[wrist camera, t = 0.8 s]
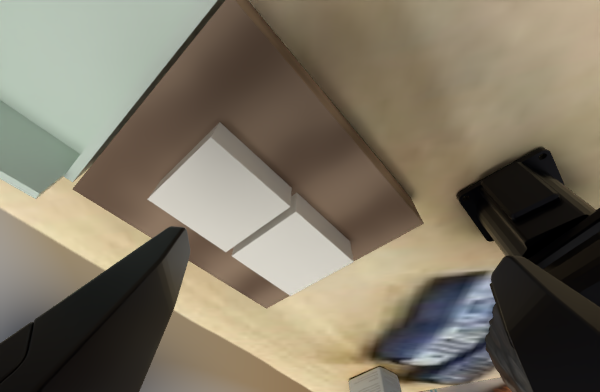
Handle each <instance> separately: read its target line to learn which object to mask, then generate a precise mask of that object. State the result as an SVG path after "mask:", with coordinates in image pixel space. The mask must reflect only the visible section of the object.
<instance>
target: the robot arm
mask: <svg viewBox="0 0 600 392" xmlns="http://www.w3.org/2000/svg"><path fill="white" fill-rule="evenodd" d="M541 154H542V155H541ZM540 155H541V156H540ZM539 156H540V157H539ZM464 196H466V197H465V198H463V197H464ZM457 199H458V200H459V202H460V203H461V205H462V206H463V208H464V209H465V210H466V212H467V213H468V215H469V216H470V217H471V219H472V220H473V222H474V223H475V224H476V226H477V227H478V229H479V230H480V231H481V233H482V234H483V236H484V237H485V239H486V240H487V241H490V242H491V241H495V242H496V244H497V245H498V246H499V248H500V249H501V250H502V252H503V253H504V254H505V257H504V258H503V259H502V261H501V262H500V263H499V265H498V266H497V267H496V269H495V270H494V272H493V273H492V276H491V281H492V283H491V284H490V287H491V290H492V293H493V296H494V299H495V302H496V305H497V308H498V311H499V314H500V317H501V320H502V323H503V326H504V329H505V332H506V334H507V336H508V339H509V342H510V345H511V346H512V347H513V348H514V349H515V351H516V354H517V356H518V358H519V361H520V363H521V365H522V368H523V370H524V372H525V375H526V377H527V379H528V382H529V384H530V386H531V389H532V391H533V392H600V208H599V209H597V210H595V209H594V208H593V207H592V206H590V205H589V204H588V203H586V202H585V201H584V200H582V199H581V198H580V197H579V196H577V195H576V194H575V193H573V192H572V191H571V190H570V189H568V188H567V187H566V186H565V185H564V183H563V180H562V178H561V176H560V173H559V171H558V169H557V166H556V164H555V162H554V159H553V157H552V155H551V152H550V151H549V150H547V149H546V148H538V149H536V150H534V151H533V152H531V153H529V154H527V155H525V156H524V157H522V158H520V159H518V160H516V161H515V162H513V163H511V164H509V165H507V166H506V167H504V168H502V169H500V170H498V171H497V172H495V173H493V174H491V175H489V176H488V177H486V178H484V179H482V180H481V181H479V182H477V183H475V184H473V185H472V186H470V187H468V188H466V189H464V190H463V191H461V192H459V193H458V195H457ZM189 256H190V244H189V239H188V234H187V230H186V228H184V227H177V226H170V227H168V228H166V229H165V230H164V231H162V232H161V233H159V234H158V235H156V236H155V237H153V238H152V239H151V240H149V241H148V242H146V243H145V244H143V245H142V246H140V247H139V248H138V249H136V250H135V251H133V252H132V253H130V254H129V255H127V256H126V257H125V258H123V259H122V260H120V261H119V262H117V263H116V264H114V265H113V266H111V267H110V268H109V269H107V270H106V271H104V272H103V273H101V274H100V275H98V276H97V277H96V278H94V279H93V280H91V281H90V282H88V283H87V284H85V285H84V286H83V287H81V288H80V289H78V290H77V291H75V292H74V293H72V294H71V295H70V296H68V297H67V298H65V299H64V300H62V301H61V302H60V303H58V304H57V305H55V306H54V307H52V308H51V309H50V310H48V311H47V312H45V313H44V314H42V315H41V316H40V317H38V318H36V319H35V321H34V322H31V323H29V324H28V325H26V326H25V327H23V328H22V329H20V330H19V331H17V332H16V333H15V334H13V335H12V336H10V337H9V338H7V339H6V340H4V341H3V342H1V343H0V392H139V391H140V388H141V386H142V384H143V381H144V379H145V376H146V374H147V372H148V369H149V367H150V365H151V362H152V360H153V357H154V355H155V353H156V350H157V348H158V346H159V343H160V341H161V338H162V336H163V334H164V331H165V329H166V327H167V324H168V322H169V319H170V317H171V315H172V312H173V309H174V307H175V304H176V301H177V297H178V294H179V290H180V287H181V284H182V280H183V277H184V273H185V270H186V267H187V263H188V260H189Z"/></svg>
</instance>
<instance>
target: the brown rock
mask: <svg viewBox="0 0 600 392" xmlns="http://www.w3.org/2000/svg"><path fill="white" fill-rule="evenodd" d="M492 313H493V319H491V320H490V321H489V323H490V325H491V326H490V328H489V331H490V332H489V333H488V334H487V335H486V338H485V341H486V343H487V344H486V351H487V352H488V353H489V355H490V357H491V360H492V362H493V364H494V366H495V368H496V369H497V371H498V372H499V373H500V375H501V378H502V380H503V382H504V383H505V384H506V385H507V387H508V388H509V389H510V390H511V391H512V392H533V391H532V389H531V386H530V384H529V382H528V379H527V377H526V375H525V372H524V370H523V368H522V365H521V363H520V361H519V358H518V356H517V354H516V351H515V349H514V348H513V347H512V346H511V345H510V342H509V339H508V336H507V334H506V332H505V329H504V326H503V323H502V320H501V317H500V314H499V311H498V308H497V305H496V304H495V305H494V307H493V311H492Z"/></svg>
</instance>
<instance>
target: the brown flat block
mask: <svg viewBox="0 0 600 392" xmlns="http://www.w3.org/2000/svg"><path fill="white" fill-rule="evenodd" d="M219 122H220V123H221V124H223V125H224V126H225V127H226V128H227V129H228V130H229V131H230V132H231V133H232V134H233V135H235V136H236V137H237V138H238V139H239V140H240V141H241V142H242V143H243V144H244V145H245V146H247V147H248V148H249V149H250V150H251V151H252V152H253V153H254V154H255V155H256V156H257V157H259V158H260V159H261V160H262V161H263V162H264V163H265V164H266V165H267V166H268V167H269V168H271V169H272V170H273V171H274V172H275V173H276V174H277V175H278V176H279V177H280V178H281V179H283V180H284V181H285V182H286V183H287V184H288V185H289V186H290V187H291V188H292V190H291V196H293V195H294V194H295V193H298V194H299V195H300V196H301V197H302V198H303V199H304V200H305V201H307V202H308V203H309V204H310V205H311V206H312V207H313V208H314V209H315V210H316V211H317V212H319V213H320V214H321V215H322V216H323V217H324V218H325V219H326V220H327V221H328V222H329V223H331V224H332V225H333V226H334V227H335V228H336V229H337V230H338V231H339V232H340V233H341V234H343V235H344V236H345V237H346V238H347V239H348V240H349V241H350V244H351V250H352V255H353V261H355V260H357V259H359V258H361V257H363V256H364V255H366V254H368V253H370V252H372V251H374V250H376V249H377V248H379V247H381V246H383V245H385V244H387V243H388V242H390V241H392V240H394V239H396V238H398V237H400V236H401V235H403V234H405V233H407V232H409V231H411V230H413V229H414V228H416V227H418V226H420V225H422V224H424V223H423V221H422V219H421V217H420V215H419V213H418V211H417V209H416V207H415V205H414V203H413V201H412V199H411V198H410V197H409V195H408V194H407V193H406V192H405V191H404V189H403V188H402V187H401V186H400V185H399V183H398V182H397V181H396V180H395V178H394V177H393V176H392V175H391V174H390V172H389V171H388V170H387V169H386V168H385V166H384V165H383V164H382V163H381V161H380V160H379V159H378V158H377V157H376V155H375V154H374V153H373V152H372V151H371V149H370V148H369V147H368V146H367V144H366V143H365V142H364V141H363V140H362V138H361V137H360V136H359V135H358V134H357V132H356V131H355V130H354V129H353V127H352V126H351V125H350V124H349V123H348V121H347V120H346V119H345V118H344V117H343V115H342V114H341V113H340V112H339V110H338V109H337V108H336V107H335V106H334V104H333V103H332V102H331V101H330V100H329V98H328V97H327V96H326V95H325V93H324V92H323V91H322V90H321V89H320V87H319V86H318V85H317V84H316V83H315V81H314V80H313V79H312V78H311V76H310V75H309V74H308V73H307V72H306V70H305V69H304V68H303V67H302V66H301V64H300V63H299V62H298V61H297V59H296V58H295V57H294V56H293V55H292V53H291V52H290V51H289V50H288V49H287V47H286V46H285V45H284V44H283V42H282V41H281V40H280V39H279V38H278V36H277V35H276V34H275V33H274V32H273V30H272V29H271V28H270V27H269V25H268V24H267V23H266V22H265V21H264V19H263V18H262V17H261V16H260V15H259V13H258V12H257V11H256V10H255V8H254V7H253V6H252V5H251V4H250V2H249V1H248V0H225V1H224V3H223V4H222V5H221V6H220V8H219V9H218V10H217V11H216V12H215V14H214V15H213V16H212V17H211V19H210V20H209V21H208V22H207V24H206V25H205V26H204V27H203V29H202V30H201V31H200V32H199V33H198V35H197V36H196V37H195V38H194V40H193V41H192V42H191V43H190V45H189V46H188V47H187V48H186V50H185V51H184V52H183V53H182V54H181V56H180V57H179V58H178V59H177V61H176V62H175V63H174V64H173V66H172V67H171V68H170V69H169V71H168V72H167V73H166V74H165V75H164V77H163V78H162V79H161V80H160V82H159V83H158V84H157V85H156V87H155V88H154V89H153V90H152V92H151V93H150V94H149V95H148V96H147V98H146V99H145V100H144V101H143V103H142V104H141V105H140V106H139V108H138V109H137V110H136V111H135V113H134V114H133V115H132V116H131V117H130V119H129V120H128V121H127V122H126V124H125V125H124V126H123V127H122V129H121V130H120V131H119V132H118V134H117V135H116V136H115V137H114V138H113V140H112V141H111V142H110V143H109V145H108V146H107V147H106V148H105V150H104V151H103V152H102V153H101V155H100V156H99V157H98V158H97V159H96V161H95V162H94V163H93V164H92V166H91V167H90V168H89V169H88V171H87V172H86V173H85V174H84V176H83V177H82V178H81V179H80V180H79V182H78V183H77V184H76V185H75V187H74V188H73V190H75V191H76V192H78V193H79V194H81V195H83V196H84V197H86V198H88V199H89V200H91V201H92V202H94V203H96V204H97V205H99V206H101V207H102V208H104V209H105V210H107V211H109V212H110V213H112V214H114V215H115V216H117V217H119V218H120V219H122V220H123V221H125V222H127V223H128V224H130V225H132V226H133V227H135V228H136V229H138V230H140V231H141V232H143V233H145V234H146V235H148V236H149V237H151V238H153V237H155V236H156V235H158V234H159V233H161V232H162V231H164V230H165V229H166V228H168V227H170V226H177V227H184V228H186V230H187V234H188V239H189V244H190V256H189V260H188V261H190V262H192V263H193V264H195V265H197V266H198V267H200V268H201V269H203V270H205V271H206V272H208V273H210V274H211V275H213V276H214V277H216V278H218V279H219V280H221V281H223V282H224V283H226V284H227V285H229V286H231V287H232V288H234V289H236V290H237V291H239V292H240V293H242V294H244V295H245V296H247V297H249V298H250V299H252V300H253V301H255V302H257V303H258V304H260V305H262V306H263V307H265V308H268V307H270V306H272V305H274V304H276V303H277V302H279V301H281V300H283V299H285V298H287V297H288V296H290V295H288V294H287V293H285V292H284V291H282V290H281V289H279V288H278V287H276V286H275V285H274V284H272V283H271V282H269V281H268V280H266V279H265V278H263V277H262V276H260V275H259V274H257V273H256V272H254V271H253V270H251V269H250V268H248V267H247V266H245V265H244V264H242V263H241V262H239V261H238V260H237V259H235V258H234V257H232V252H233V248H234V247H233V248H231V249H230V250H228V251H227V252H225V251H223V250H222V249H220V248H219V247H217V246H216V245H214V244H213V243H211V242H210V241H208V240H207V239H205V238H204V237H202V236H201V235H199V234H198V233H197V232H195V231H194V230H192V229H191V228H189V227H188V226H186V225H185V224H183V223H182V222H180V221H179V220H177V219H176V218H174V217H173V216H171V215H170V214H168V213H167V212H165V211H164V210H162V209H161V208H160V207H158V206H157V205H155V204H154V203H152V202H151V201H149V200H148V198H149V196H150V195H151V193H152V192H153V191H154V189H155V188H156V187H157V185H158V184H159V182H160V181H161V180H162V179H163V178H164V177H165V176H166V175H167V174H168V173H169V172H170V171H171V170H172V169H173V168H174V167H175V166H176V165H177V164H178V163H179V162H180V161H181V160H182V159H183V158H184V157H185V156H186V155H187V154H188V153H189V152H190V151H191V150H192V149H193V148H194V147H195V146H196V145H197V144H198V143H199V142H200V141H201V140H202V139H203V138H204V137H205V136H206V135H207V134H208V133H209V132H210V131H211V130H212V129H213V128H214V127H215V126H216V125H217V124H218V123H219Z"/></svg>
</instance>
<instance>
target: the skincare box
mask: <svg viewBox="0 0 600 392" xmlns="http://www.w3.org/2000/svg"><path fill="white" fill-rule="evenodd" d="M349 388H350V392H401V388H400V384H399V379H398V376H397V375H396V374H394V373H392V372H391V371H389V370H387V369H384V368H382V367H377V368H375V369H373V370H371V371H368V372H366V373H364V374H362V375H360V376H357V377H355V378H353V379H351V380H349Z"/></svg>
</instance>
